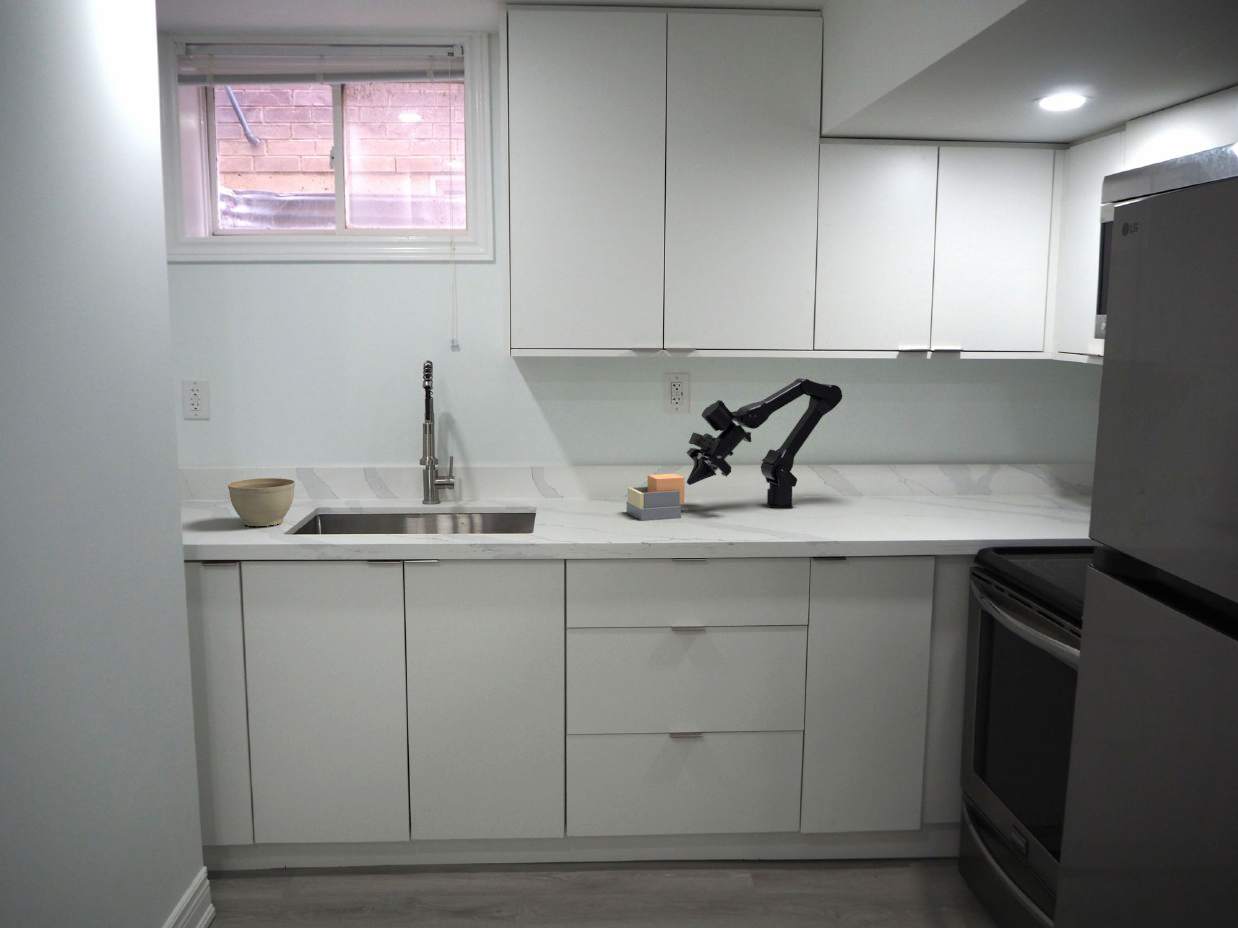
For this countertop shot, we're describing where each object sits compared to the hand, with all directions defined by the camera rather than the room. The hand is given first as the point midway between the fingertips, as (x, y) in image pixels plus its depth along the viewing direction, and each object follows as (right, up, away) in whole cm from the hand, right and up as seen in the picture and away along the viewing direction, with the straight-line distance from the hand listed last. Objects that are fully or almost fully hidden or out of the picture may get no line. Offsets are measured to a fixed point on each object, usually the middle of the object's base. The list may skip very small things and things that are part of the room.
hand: (687, 483), depth 254 cm
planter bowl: (-111, -10, -13) cm, 112 cm away
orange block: (-6, -5, -2) cm, 8 cm away
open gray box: (-9, -8, -2) cm, 12 cm away
